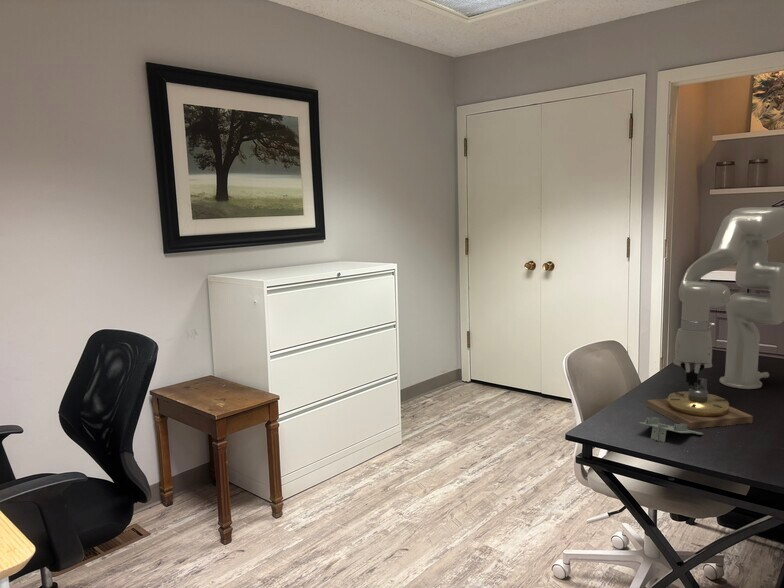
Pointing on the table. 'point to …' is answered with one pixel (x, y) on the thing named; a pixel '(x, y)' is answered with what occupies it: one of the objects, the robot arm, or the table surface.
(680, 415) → the base plate
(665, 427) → the metal bracket
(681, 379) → the table surface
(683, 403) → the rotary dial
